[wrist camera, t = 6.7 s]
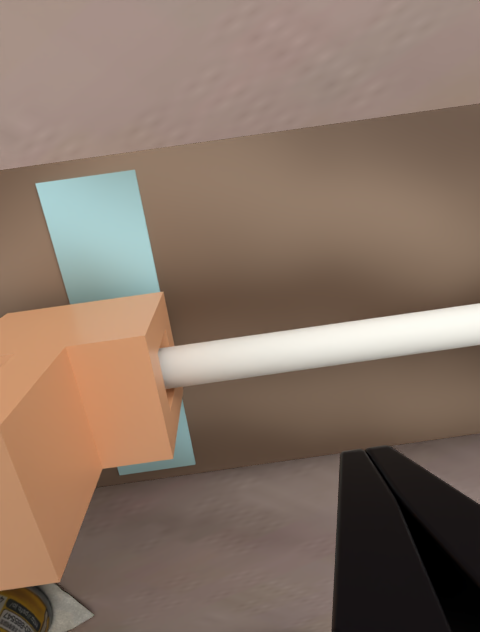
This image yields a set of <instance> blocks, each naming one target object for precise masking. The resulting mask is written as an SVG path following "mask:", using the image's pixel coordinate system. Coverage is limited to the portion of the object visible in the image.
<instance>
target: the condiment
mask: <svg viewBox="0 0 480 632" xmlns="http://www.w3.org/2000/svg"><path fill="white" fill-rule="evenodd" d="M92 616H94V614H92V613H91V612H90V611H88V610H87V609H86V608H85V607H84V606H82V605H81V604H80V603H79V602H77V601H76V600H75V599H74V598H73V597H72V596H70V595H69V594H68V593H66V592H63V591H62V590H61V589H60V588H59V586H57V585H56V584H55V583H51V584H44V585H37V586H30V587H23V588H16V589H9V590H2V591H0V632H67V631H68V630H70V629H73V628H75V627H76V626H78V625H80V624H81V623H83V622H85V621H86V620H88V619H89V618H91V617H92Z"/></svg>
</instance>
